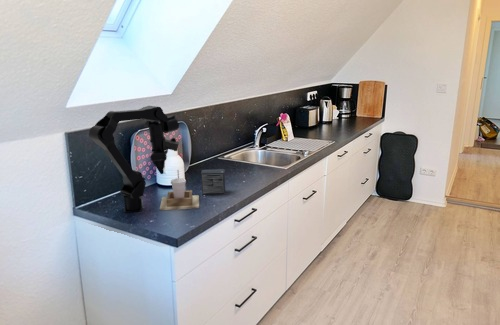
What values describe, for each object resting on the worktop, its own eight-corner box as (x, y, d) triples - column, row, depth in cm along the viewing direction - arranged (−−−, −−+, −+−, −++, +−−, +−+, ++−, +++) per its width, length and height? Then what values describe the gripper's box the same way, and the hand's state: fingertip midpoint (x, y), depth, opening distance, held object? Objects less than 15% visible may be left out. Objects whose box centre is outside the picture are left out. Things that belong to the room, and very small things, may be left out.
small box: (225, 190, 192) (224, 168, 189) (225, 194, 185) (224, 172, 183) (203, 190, 191) (202, 169, 189) (201, 195, 185) (200, 173, 182)
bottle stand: (159, 210, 167) (159, 201, 166) (162, 198, 181) (161, 190, 180) (199, 208, 169) (198, 199, 168) (198, 196, 183) (198, 188, 182)
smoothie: (188, 199, 177) (186, 168, 174) (185, 204, 171) (183, 172, 167) (174, 199, 178) (172, 168, 174) (170, 204, 171) (168, 172, 168)
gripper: (175, 137, 164) (181, 174, 168) (176, 129, 182) (181, 162, 186) (147, 141, 163) (153, 178, 167) (151, 132, 180) (156, 166, 185)
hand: (162, 170), depth 176 cm, fingers open, 9 cm apart
